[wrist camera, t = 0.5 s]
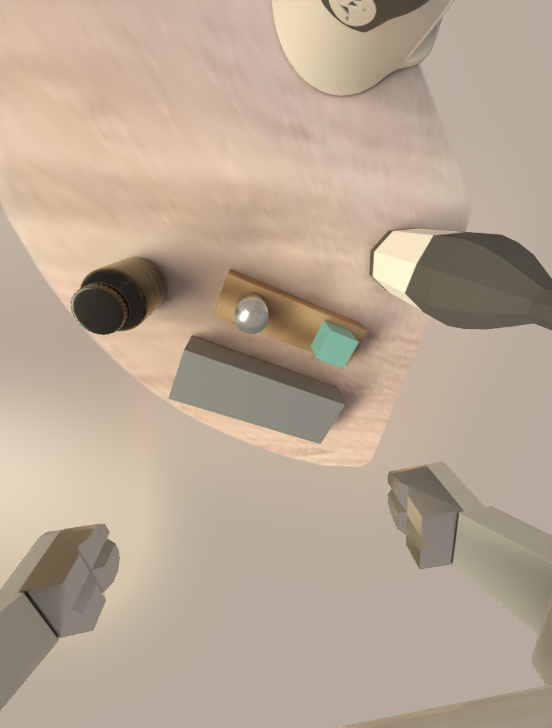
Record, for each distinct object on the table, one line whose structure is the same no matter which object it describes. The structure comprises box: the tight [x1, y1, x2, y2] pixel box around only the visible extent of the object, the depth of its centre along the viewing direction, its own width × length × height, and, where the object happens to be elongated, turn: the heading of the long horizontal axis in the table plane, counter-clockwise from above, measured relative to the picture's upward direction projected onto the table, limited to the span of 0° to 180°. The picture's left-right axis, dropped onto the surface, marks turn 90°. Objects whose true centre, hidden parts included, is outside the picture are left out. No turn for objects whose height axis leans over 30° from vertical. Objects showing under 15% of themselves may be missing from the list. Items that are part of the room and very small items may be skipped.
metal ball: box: [234, 292, 269, 334], centre depth 36 cm, size 4×4×4 cm
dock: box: [169, 336, 345, 444], centre depth 44 cm, size 8×24×5 cm, turn 67°
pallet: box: [214, 270, 367, 366], centre depth 40 cm, size 6×20×4 cm, turn 67°
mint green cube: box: [311, 320, 359, 368], centre depth 38 cm, size 4×4×4 cm
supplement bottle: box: [71, 258, 167, 335], centre depth 33 cm, size 7×7×12 cm
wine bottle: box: [370, 228, 552, 330], centre depth 26 cm, size 8×8×30 cm
